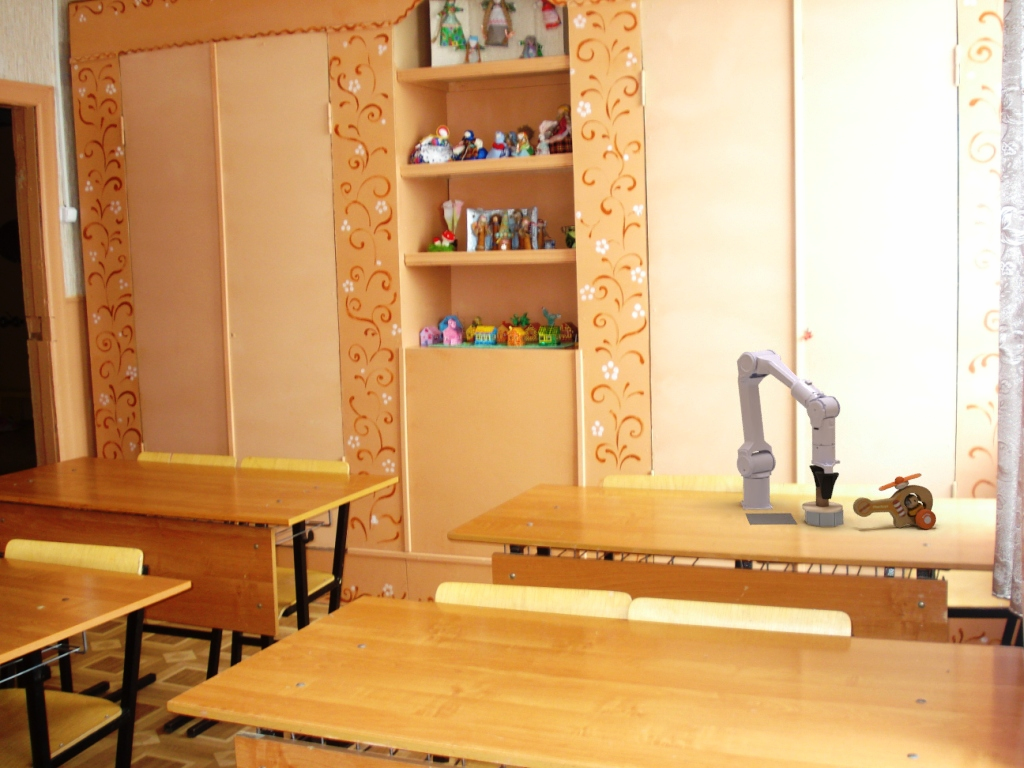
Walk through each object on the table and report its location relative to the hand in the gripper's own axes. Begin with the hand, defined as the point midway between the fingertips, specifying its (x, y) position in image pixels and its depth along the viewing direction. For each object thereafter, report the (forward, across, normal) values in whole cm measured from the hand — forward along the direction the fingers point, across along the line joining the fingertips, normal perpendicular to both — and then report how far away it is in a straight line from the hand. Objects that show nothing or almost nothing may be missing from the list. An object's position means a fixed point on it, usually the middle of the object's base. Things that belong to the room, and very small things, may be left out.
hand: (823, 495), depth 256 cm
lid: (+3, 0, 0) cm, 3 cm away
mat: (+7, +4, +13) cm, 15 cm away
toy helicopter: (+8, -4, -17) cm, 19 cm away
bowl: (+7, 0, 0) cm, 7 cm away
